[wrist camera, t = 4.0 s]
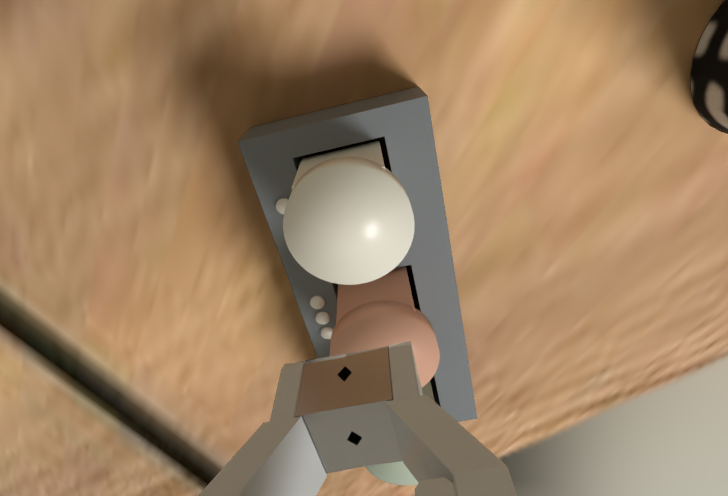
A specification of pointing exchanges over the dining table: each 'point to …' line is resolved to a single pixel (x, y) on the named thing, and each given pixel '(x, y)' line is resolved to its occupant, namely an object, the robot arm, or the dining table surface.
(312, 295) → the button panel
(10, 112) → the dining table surface
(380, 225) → the button one dot
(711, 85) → the spotted tube
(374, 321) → the pink dome knob
